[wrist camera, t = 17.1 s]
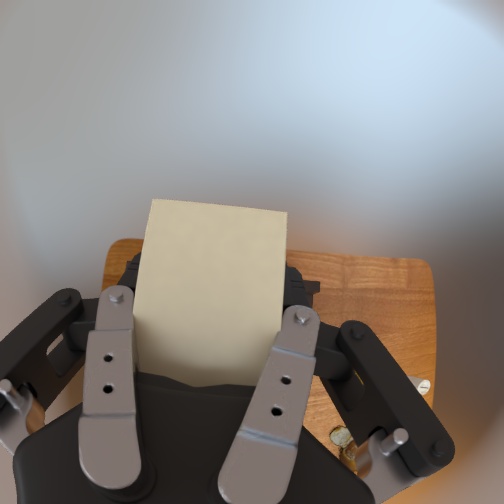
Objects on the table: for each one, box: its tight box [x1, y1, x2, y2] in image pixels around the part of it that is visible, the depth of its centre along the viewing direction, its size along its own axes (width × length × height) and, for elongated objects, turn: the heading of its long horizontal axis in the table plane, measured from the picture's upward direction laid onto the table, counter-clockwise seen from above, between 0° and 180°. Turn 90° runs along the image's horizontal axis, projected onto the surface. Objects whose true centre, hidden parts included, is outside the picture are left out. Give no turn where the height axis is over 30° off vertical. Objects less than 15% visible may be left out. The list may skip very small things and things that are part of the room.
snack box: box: [133, 199, 288, 387], centre depth 13 cm, size 4×6×10 cm
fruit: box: [330, 427, 358, 471], centre depth 29 cm, size 8×8×4 cm
